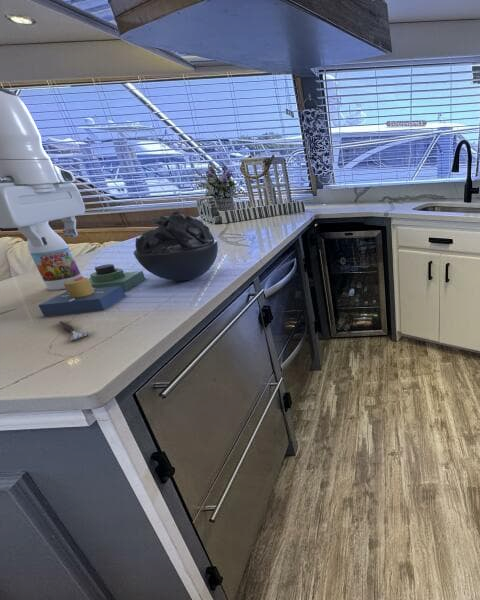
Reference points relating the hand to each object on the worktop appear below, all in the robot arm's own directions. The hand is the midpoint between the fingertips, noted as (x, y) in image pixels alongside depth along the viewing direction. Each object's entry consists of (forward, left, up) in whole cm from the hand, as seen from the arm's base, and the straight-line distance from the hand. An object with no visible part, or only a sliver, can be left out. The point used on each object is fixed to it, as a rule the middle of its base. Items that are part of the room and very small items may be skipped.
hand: (57, 241), depth 72 cm
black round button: (-2, +14, -12) cm, 18 cm away
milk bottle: (-17, +20, -16) cm, 31 cm away
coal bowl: (+17, +15, -16) cm, 28 cm away
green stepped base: (-2, +14, -16) cm, 21 cm away
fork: (+7, -16, -16) cm, 24 cm away
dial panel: (0, 0, -16) cm, 16 cm away
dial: (0, 0, -13) cm, 13 cm away
